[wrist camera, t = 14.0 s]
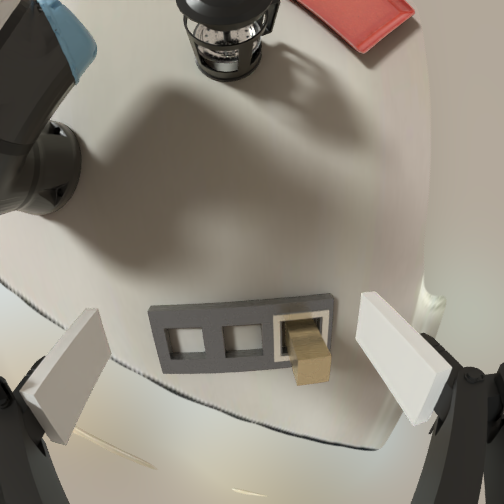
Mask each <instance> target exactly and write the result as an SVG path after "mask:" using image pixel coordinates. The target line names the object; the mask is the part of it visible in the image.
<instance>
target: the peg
mask: <svg viewBox="0 0 504 504" xmlns="http://www.w3.org/2000/svg"><path fill="white" fill-rule="evenodd" d="M285 344H286V348H287V352H288V355H289V359H290V362H291V366H292V369H293V373H294V376H295V380H296V383H297V386H299V385H307V384H314V383H320V382H327V381H329V375H330V366H331V357H332V356H331V354H330V352H329V350H328V348H327V346H326V344H325V342H324V340H323V338H322V336H321V334H320V332H319V330H318V328H317V326H316V324H315V322H314V320H313V319H304V320H294V321H285Z"/></svg>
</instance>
